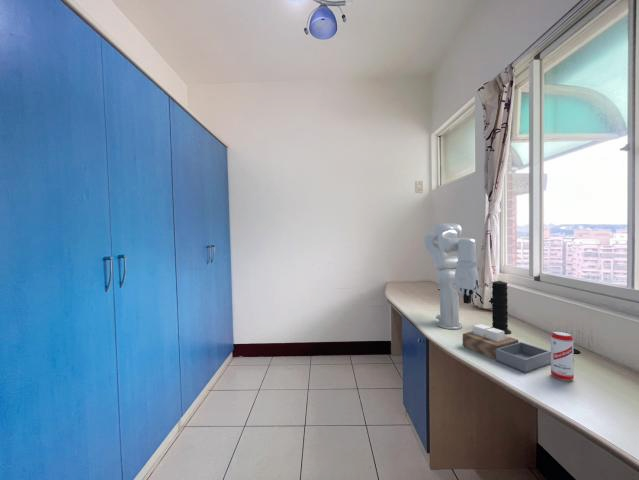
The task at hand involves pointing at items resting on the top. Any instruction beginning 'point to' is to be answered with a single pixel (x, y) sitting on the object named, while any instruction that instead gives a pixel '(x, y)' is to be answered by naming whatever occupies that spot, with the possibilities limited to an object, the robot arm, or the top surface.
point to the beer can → (562, 355)
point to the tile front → (495, 334)
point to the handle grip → (500, 306)
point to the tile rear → (480, 329)
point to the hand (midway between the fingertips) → (467, 303)
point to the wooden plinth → (485, 344)
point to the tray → (523, 357)
